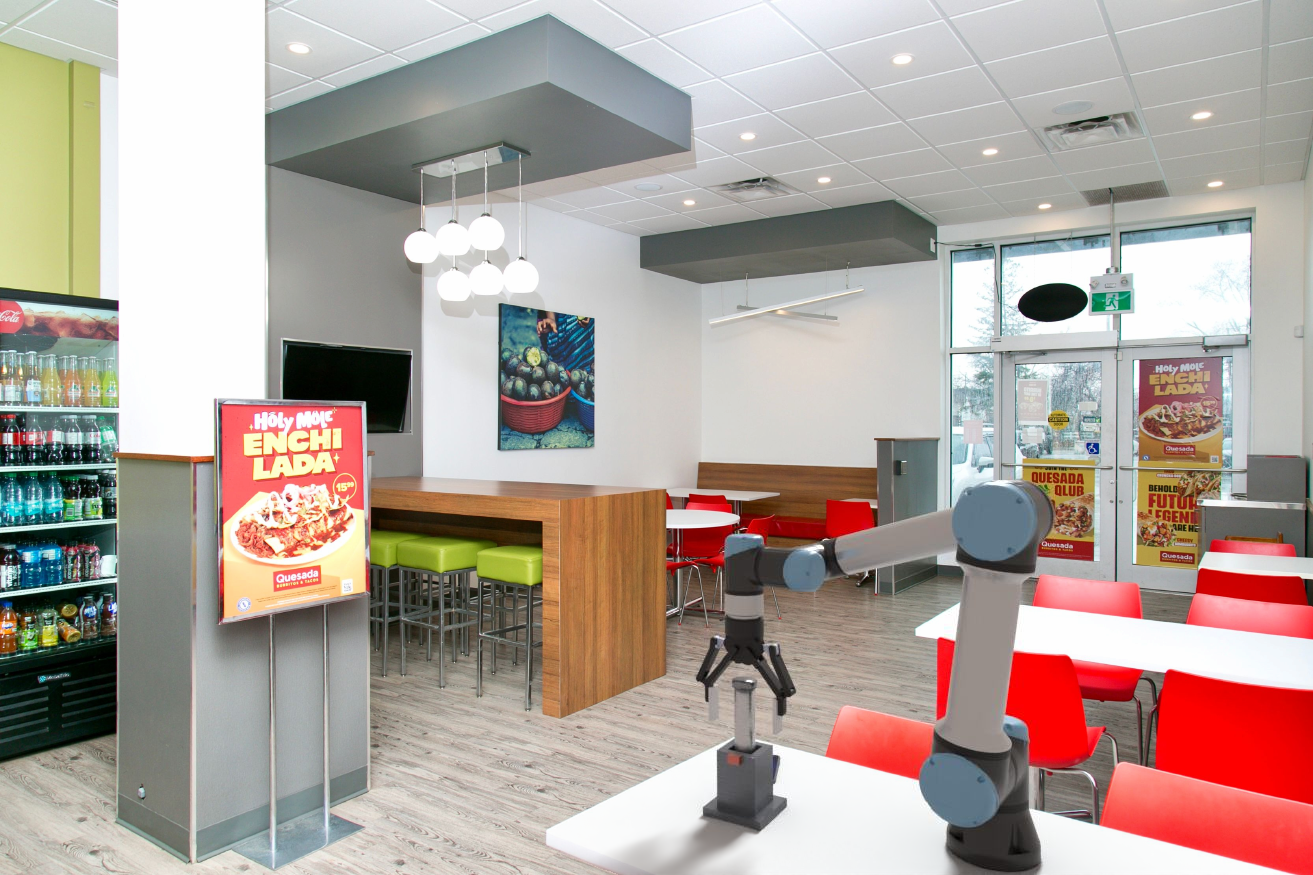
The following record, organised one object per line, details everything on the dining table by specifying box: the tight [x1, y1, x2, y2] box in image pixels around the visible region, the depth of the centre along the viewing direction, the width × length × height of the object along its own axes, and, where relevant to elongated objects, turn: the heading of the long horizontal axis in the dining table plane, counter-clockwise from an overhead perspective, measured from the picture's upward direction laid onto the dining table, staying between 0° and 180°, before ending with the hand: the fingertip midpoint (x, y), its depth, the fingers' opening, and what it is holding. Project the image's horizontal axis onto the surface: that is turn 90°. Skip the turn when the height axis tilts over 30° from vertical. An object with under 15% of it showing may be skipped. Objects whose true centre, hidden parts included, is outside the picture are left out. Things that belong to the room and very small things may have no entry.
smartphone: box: [773, 754, 781, 785], centre depth 176 cm, size 7×1×15 cm
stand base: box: [702, 737, 788, 832], centre depth 156 cm, size 12×12×12 cm
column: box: [731, 675, 758, 754], centre depth 156 cm, size 5×5×23 cm
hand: (744, 725), depth 156 cm, fingers open, 13 cm apart
